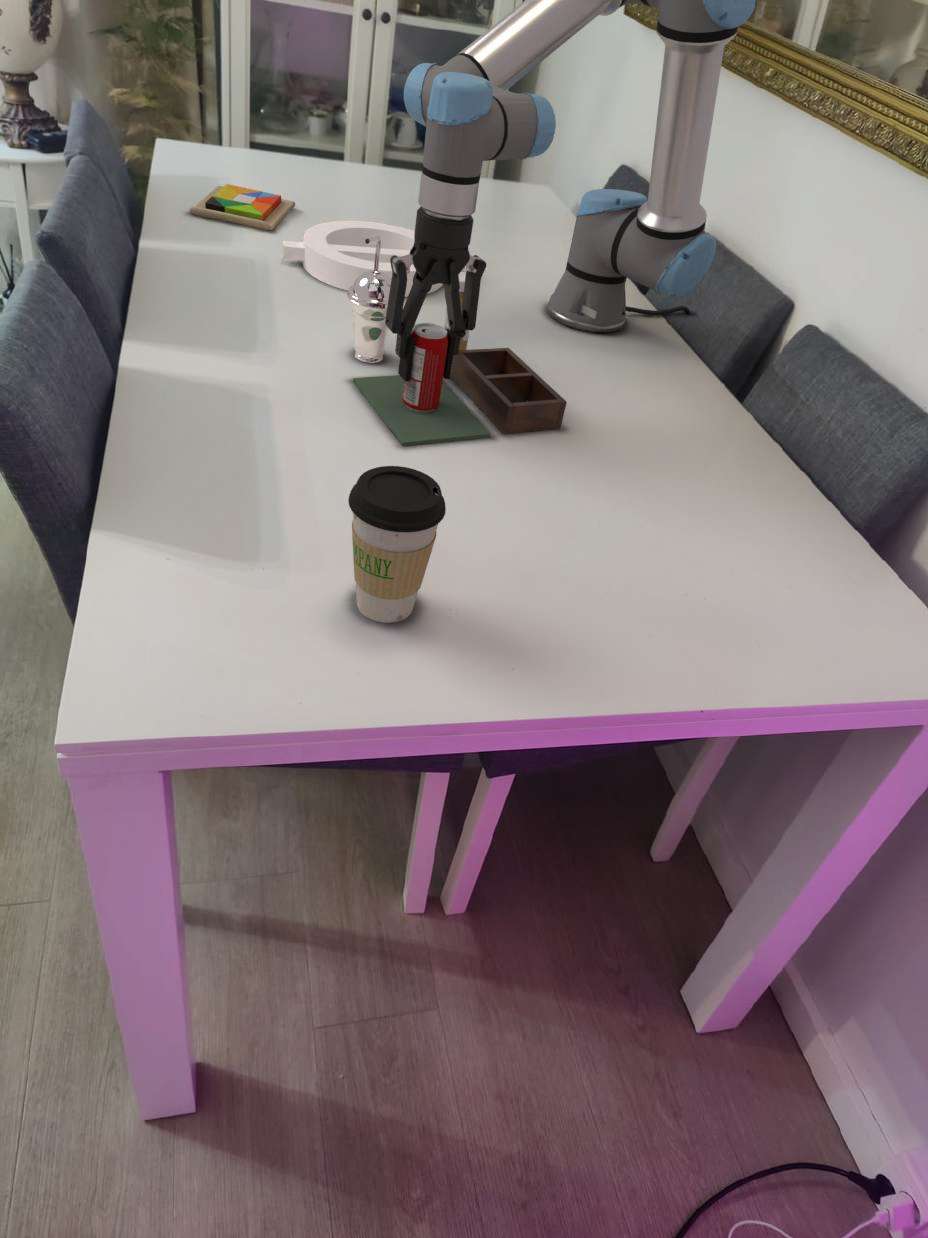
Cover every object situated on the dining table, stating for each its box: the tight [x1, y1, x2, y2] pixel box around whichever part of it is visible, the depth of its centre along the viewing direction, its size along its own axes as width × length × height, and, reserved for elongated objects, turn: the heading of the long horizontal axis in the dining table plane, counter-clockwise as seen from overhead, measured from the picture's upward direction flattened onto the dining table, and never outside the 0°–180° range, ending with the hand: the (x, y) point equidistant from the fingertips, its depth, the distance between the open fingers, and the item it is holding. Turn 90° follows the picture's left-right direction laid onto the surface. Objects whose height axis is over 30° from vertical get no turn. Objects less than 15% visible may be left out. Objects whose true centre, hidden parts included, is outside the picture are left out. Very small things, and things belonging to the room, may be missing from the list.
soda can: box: [402, 322, 448, 413], centre depth 132 cm, size 6×6×12 cm
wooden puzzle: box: [188, 183, 296, 231], centre depth 192 cm, size 18×19×4 cm
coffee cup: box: [347, 465, 447, 624], centre depth 94 cm, size 10×10×15 cm
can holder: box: [450, 347, 568, 435], centre depth 141 cm, size 10×19×4 cm, turn 25°
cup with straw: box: [346, 236, 391, 364], centre depth 141 cm, size 8×9×20 cm
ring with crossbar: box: [281, 220, 466, 298], centre depth 177 cm, size 28×28×5 cm
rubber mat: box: [352, 374, 492, 447], centre depth 136 cm, size 14×20×1 cm
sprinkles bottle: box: [443, 271, 471, 350], centre depth 149 cm, size 5×5×14 cm
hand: (424, 375), depth 133 cm, fingers open, 6 cm apart
